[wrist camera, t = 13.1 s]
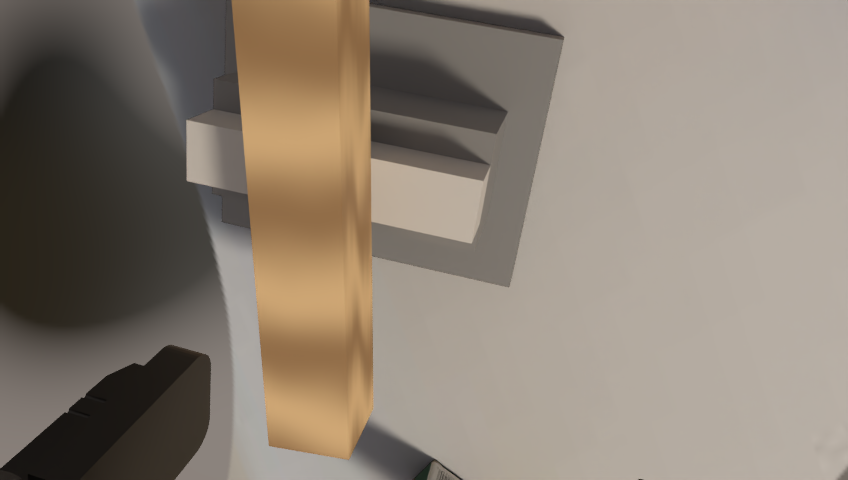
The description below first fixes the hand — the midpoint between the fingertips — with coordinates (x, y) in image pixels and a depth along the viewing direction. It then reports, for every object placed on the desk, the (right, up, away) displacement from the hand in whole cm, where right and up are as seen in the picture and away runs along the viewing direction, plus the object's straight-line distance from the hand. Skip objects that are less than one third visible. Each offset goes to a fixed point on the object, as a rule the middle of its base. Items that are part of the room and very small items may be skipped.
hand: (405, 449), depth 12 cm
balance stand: (-2, +10, +27) cm, 29 cm away
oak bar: (-4, +6, +19) cm, 20 cm away
